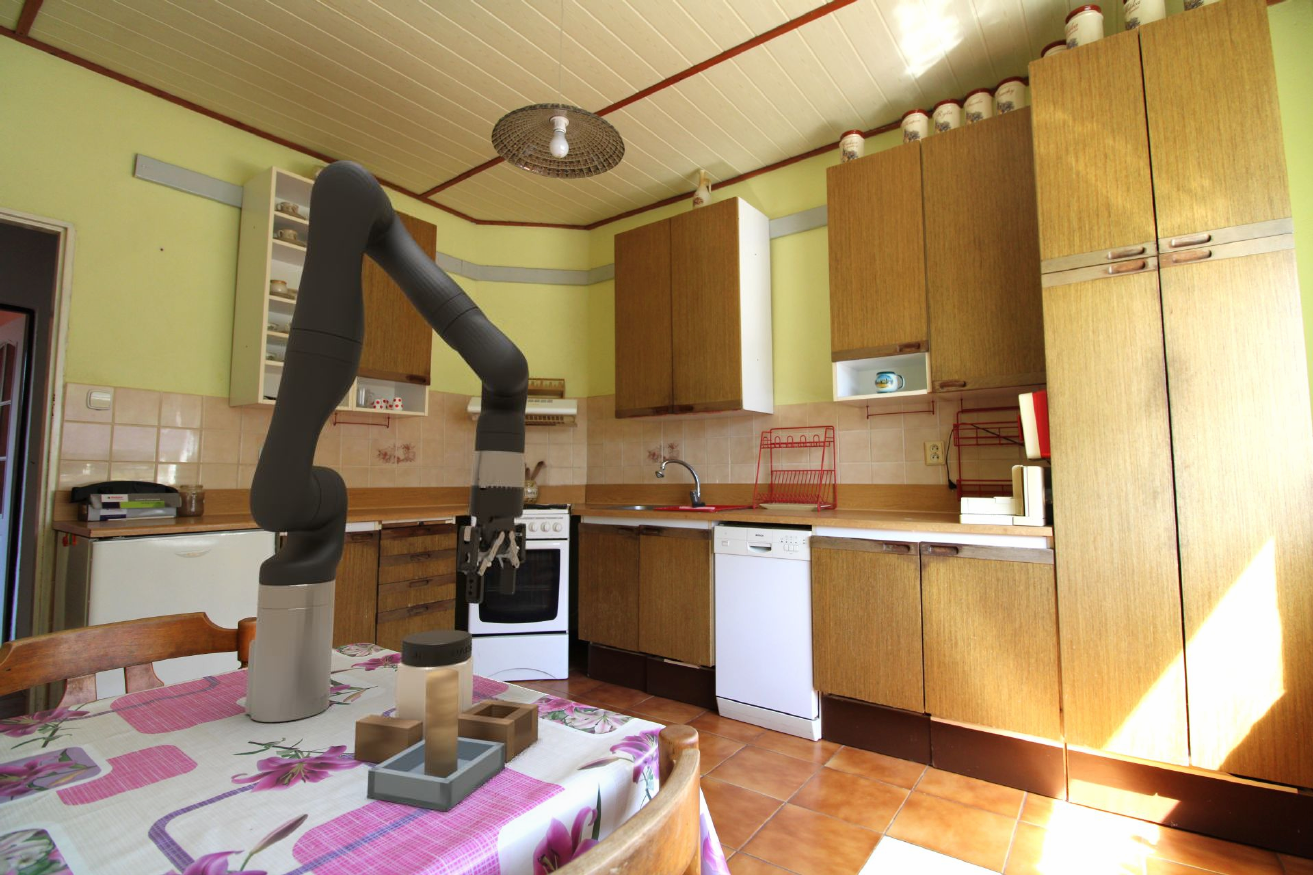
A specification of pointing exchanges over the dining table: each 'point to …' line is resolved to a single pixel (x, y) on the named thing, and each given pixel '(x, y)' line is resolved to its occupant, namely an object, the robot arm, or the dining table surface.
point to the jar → (432, 669)
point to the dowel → (441, 723)
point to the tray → (411, 787)
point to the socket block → (501, 724)
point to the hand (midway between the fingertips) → (491, 598)
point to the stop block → (385, 737)
